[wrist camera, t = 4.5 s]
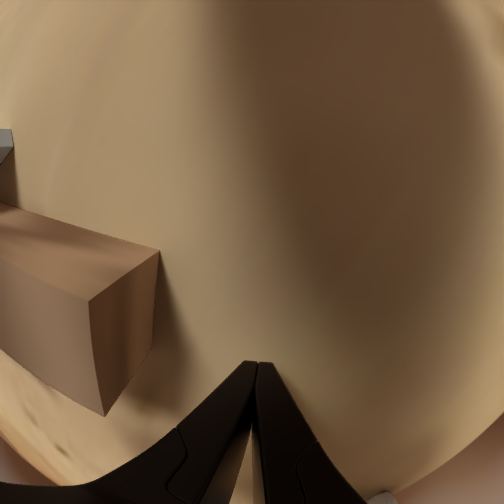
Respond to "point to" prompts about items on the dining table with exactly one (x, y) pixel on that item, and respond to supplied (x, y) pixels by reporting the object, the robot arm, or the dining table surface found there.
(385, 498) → the ceramic mug
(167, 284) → the dining table surface
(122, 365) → the rectangular wooden block
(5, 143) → the cradle
